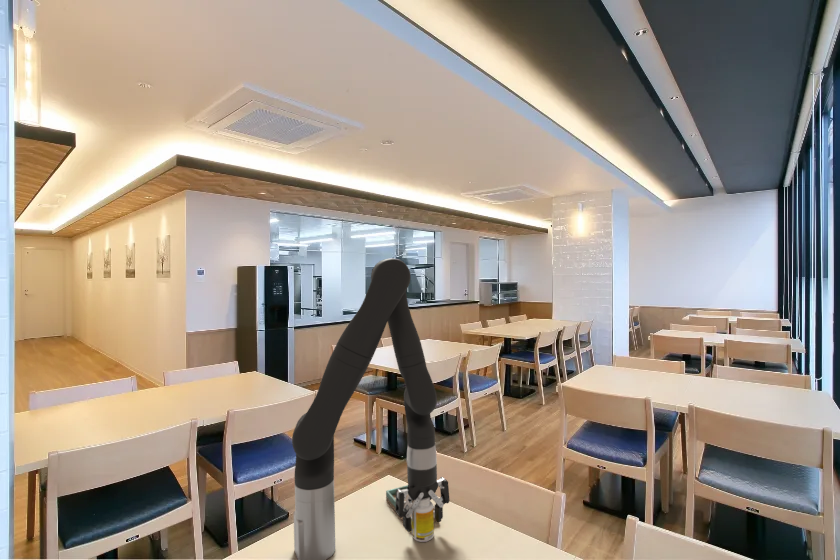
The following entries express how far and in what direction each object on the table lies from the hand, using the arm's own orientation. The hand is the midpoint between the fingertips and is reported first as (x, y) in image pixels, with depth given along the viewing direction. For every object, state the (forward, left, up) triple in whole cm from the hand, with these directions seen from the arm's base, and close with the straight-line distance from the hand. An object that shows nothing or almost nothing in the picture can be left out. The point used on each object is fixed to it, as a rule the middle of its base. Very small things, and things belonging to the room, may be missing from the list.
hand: (423, 525), depth 107 cm
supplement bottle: (0, 0, -3) cm, 3 cm away
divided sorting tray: (+2, +12, -3) cm, 13 cm away
